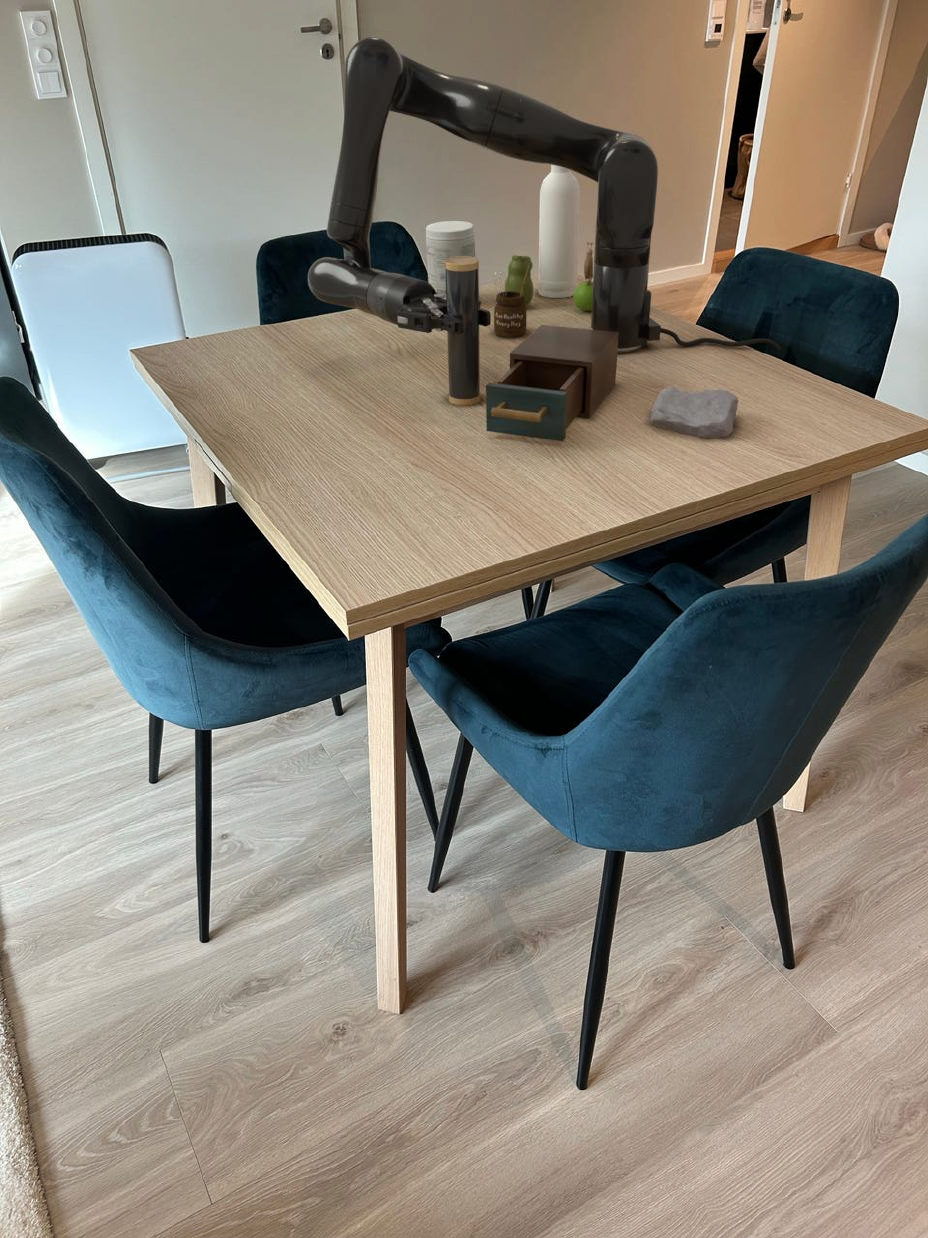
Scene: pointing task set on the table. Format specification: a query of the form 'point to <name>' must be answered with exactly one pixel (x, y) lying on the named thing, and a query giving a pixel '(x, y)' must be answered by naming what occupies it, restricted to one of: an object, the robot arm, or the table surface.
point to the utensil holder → (510, 312)
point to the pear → (520, 277)
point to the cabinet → (575, 357)
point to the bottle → (558, 234)
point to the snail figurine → (585, 284)
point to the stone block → (695, 412)
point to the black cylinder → (464, 346)
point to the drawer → (536, 399)
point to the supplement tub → (447, 248)
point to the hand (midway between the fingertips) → (475, 322)
